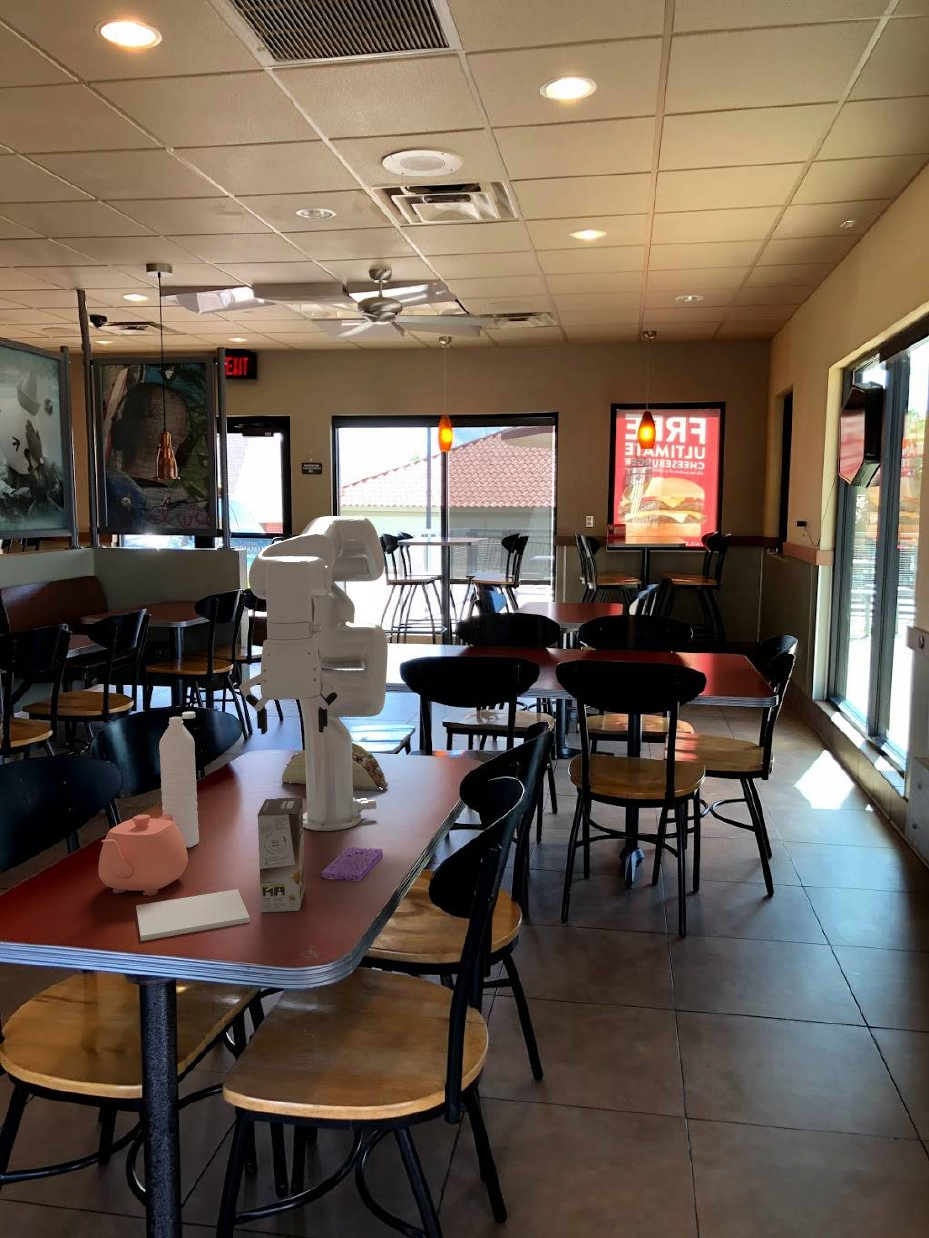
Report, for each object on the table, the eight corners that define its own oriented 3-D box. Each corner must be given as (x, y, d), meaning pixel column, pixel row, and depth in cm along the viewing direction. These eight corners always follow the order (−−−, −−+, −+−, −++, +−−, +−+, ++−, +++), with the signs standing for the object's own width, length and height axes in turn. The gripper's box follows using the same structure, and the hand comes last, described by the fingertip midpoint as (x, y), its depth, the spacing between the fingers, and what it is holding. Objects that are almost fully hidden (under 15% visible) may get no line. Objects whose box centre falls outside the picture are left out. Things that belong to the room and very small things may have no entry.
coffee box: (301, 911, 147) (297, 813, 145) (260, 913, 146) (256, 815, 144) (306, 888, 156) (302, 796, 154) (267, 890, 155) (264, 797, 154)
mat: (237, 893, 154) (237, 889, 154) (249, 922, 143) (249, 917, 143) (136, 910, 148) (136, 905, 148) (140, 941, 137) (140, 935, 137)
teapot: (71, 907, 150) (66, 834, 148) (140, 862, 169) (137, 798, 168) (144, 914, 147) (140, 840, 145) (206, 868, 166) (204, 802, 165)
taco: (293, 776, 226) (292, 736, 225) (395, 785, 218) (394, 743, 217) (273, 787, 217) (271, 745, 216) (378, 796, 208) (377, 753, 207)
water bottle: (186, 851, 174) (180, 721, 172) (156, 848, 176) (150, 719, 174) (212, 836, 183) (206, 712, 180) (183, 833, 185) (178, 710, 182)
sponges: (383, 858, 171) (382, 848, 171) (359, 884, 159) (359, 873, 158) (347, 855, 172) (346, 846, 172) (321, 881, 160) (321, 870, 160)
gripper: (342, 628, 160) (344, 725, 162) (241, 631, 159) (244, 728, 160) (340, 633, 153) (343, 735, 154) (234, 635, 151) (238, 738, 153)
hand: (293, 731), depth 157 cm, fingers open, 9 cm apart
